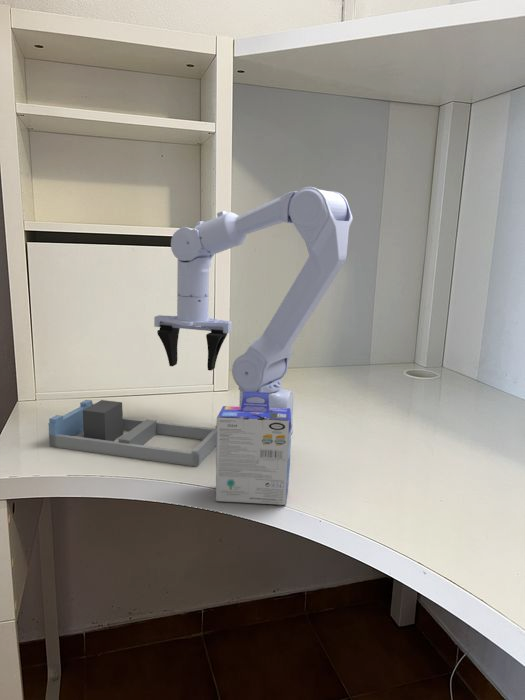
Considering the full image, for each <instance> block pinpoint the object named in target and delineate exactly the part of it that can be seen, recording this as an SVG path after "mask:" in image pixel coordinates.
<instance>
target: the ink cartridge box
mask: <svg viewBox="0 0 525 700" xmlns="http://www.w3.org/2000/svg"><path fill="white" fill-rule="evenodd" d="M251 397H259V398H262V399H264V400H265V402H264V403H249V402H247V401H246V399H247V398H251ZM220 409H221V410H220V411H219V413H218V415H216V426H217V443H216V446H215V448H216V450H215V451H216V454H215V455H216V456H215V457H216V458H215V464H216V465H215V467H216V468H215V501H216V502H223V503H224V502H227V503H245V504H246V503H247V504H263V505H280V506H281V505H282V506H284V505H285V506H286V505H287V500H288V495H289V484H290V469H291V467H290V466H291V446H292V445H291V442H292V434H291V410H290V408H271V407H269V393H265V392H248V391H243V400H242V405H241V407H239V406H234V405H233V406H230V405H229V406H228V405H224V406H222V407H221V408H220Z"/></svg>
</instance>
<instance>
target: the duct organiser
mask: <svg viewBox="0 0 525 700" xmlns="http://www.w3.org/2000/svg"><path fill="white" fill-rule="evenodd" d="M79 403H80V404H79V407H77V408H75V409H73V410H71V411H69V412H67V413H66V414H64V415H60V414H59V415H58V414H56V415H54V416H52V417H50V418H49V421H48V439H49V442H48V444H49V447H52V448H53V447H54V448H59V449H67V450H72V451H73V450H74V451H80V452H87V453H88V452H89V453H95V454H103V455H110V456H116V457H124V458H130V459H139V460H145V461H146V460H147V461H154V462H160V463H165V464H166V463H167V464H174V465H182V466H190V467H195V468H196V467H199V465H200V464H201V463H202V462H203V461H204V460H205V459H206V457H207V456H208V455H209V454H211V452H212V451H213V450H214V449H215V448H216V443H217V425H216V426H215V428H214V427H206V426H196V425H188V424H180V423H171V422H164V421H157V420H155V419H147V418H146V419H141V418H140V419H139V418H131V417H124V416H123V431H124V430H125V431H128V432H126V433H124V434H123V435H122V436H120V437H119V438H117V439H118V440H117V441H107V440H99V439H92V438H84V436H78V435H79V434H80V433H83V432H84V428H83V410H84V409H86V408H88V407H90V406H92V405H93V404H94V403H93V400H91V399H85V400H83V401H81V402H79ZM156 435H161V436H162V435H165V436H171V437H172V436H173V437H179V438H186V439H194V440H202V441H201V442H199V443H198V445H197V446H195V448H194V449H192V451H188V450H183V449H180V450H179V449H173V448H166V447H165V448H164V447H158V446H150V445H144V444H146V443H147V442H149V441H150V440H151V439H152V438H154V437H155V436H156Z"/></svg>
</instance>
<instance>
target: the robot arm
mask: <svg viewBox="0 0 525 700" xmlns="http://www.w3.org/2000/svg"><path fill="white" fill-rule="evenodd" d="M353 219H354V217H353V214H352V212H351V208H350V205H349V203H348V200H347V198H346V196H344V195H343V194H342V193H341V192H338V191H335V190H324V189H318V188H317V187H313V186H306V187H302V188H300V189H299V190H297V191H296V190H293V191H288V192H286V193H285V194H283V195H281V196H279V197H277V198H275V199H273V200H271V201H269V202H266V203H264V204H262V205H260V206H258V207H255V208H254V209H252V210H249V211H246V212H245V213H242V214H240V215H238V214H237V213H234V212H233V211H232V212H230V211H229V212H228V211H224V210H223V211H219V212H217V213H216V217H214V218H212V219H209V220H207V221H203V220H201V221H198V222H196V224H195V225H196V226H195V227H192V228H191V227H187V226H181V227H180V228H179V229H177V230H176V231H175V232H174V233H173V234H172V237H171V240H170V249H171V252H172V254H173V256H174V257H175V258H176V259H177V268H176V269H177V271H176V272H177V275H176V276H177V277H176V280H177V282H176V283H177V284H176V286H177V287H176V288H177V289H176V292H177V293H176V294H177V296H176V298H177V300H176V301H177V302H176V304H177V306H176V310H177V311H176V314H177V315H161V314H159V315H155V316H154V319H153V320H154V321H153V322H154V324H153V325H154V327H155V328H159V329H157V336H158V337H159V340H160V341H161V343H162V345H163V348H164V350H165V353H166V357H167V361H168V365H169V367H174V366H176V365H177V364H178V343H179V333H180V329H185V330H197V331H206V332H208V333H207V334H206V335H205V337H206V344H207V371H213V370H214V369H216V363H217V359H218V355H219V352H220V350H221V348H222V346H223V343H224V341H225V340H226V337H227V336H228V334H230V333H232V327H233V325H232V323H233V321H232V320H231V321H230V320H221V319H217V318H212V317H209V301H210V299H209V297H210V294H209V293H210V291H209V290H210V289H209V288H210V268H211V267H212V266H211V265H212V258H213V257H214V255H216V254H220V253H222V252H224V251H227V250H229V249H232V248H235V247H238V246H241V245H242V244H243V243H244V242H245V241H246V238H247V235H249V234H251V233H254V232H258V231H261V230H263V229H267V228H270V227H273V226H277V225H279V224H281V223H287V224H288V223H290V224H291V223H292V224H293V225H294V227H295V229H296V230H297V232H298V233H299V234H300V236H301V238H302V239H303V241H304V242H305V245H306V249H307V252H308V258H307V260H306V262H304V265H303V267H302V268H301V269H300V271H299V272H298V275H297V276H296V278H295V280H294V281H293V283H292V285H291V286H290V288H289V290H288V292H287V293H286V295H285V296H284V298H283V300H282V302H281V303H280V304H279V306H278V308H277V310H276V312H275V313H274V315H273V316H272V318H271V320H270V321H269V323H268V325H267V327H266V328H265V330H264V331H263V333H262V335H260V336H259V337H258V338H257V339H256V340H255V341H253V342H252V344H250V345H249V347H248V348H247V350H246V351H245V352H244V353H243V354H241V355H239V356H238V357H237V358H235V360H234V362H233V363H232V368H231V373H232V378H233V380H234V382H235V384H236V385H237V387H238V391H239V405H238V407H241V405H242V400H243V391H248V392H265V393H269V407H271V408H290V410H291V435H292V434H293V431H294V428H293V421H294V392H293V390H292V391H291V390H287V389H284V388H282V378H284V377H285V375H286V374H287V372H288V369H289V361H290V358H291V357H292V355H293V353H294V351H293V349H292V346H293V344H294V343H295V341H296V340H297V338H298V337H299V335H300V333H301V332H302V330H303V329H304V327H305V326H306V324H307V323H308V321H309V320H310V318H311V316H312V315H313V313H314V312H315V310H316V308H317V306H318V305H319V303H320V302H321V300H322V299H323V297H324V295H325V294H326V293H327V291H328V289H329V288H330V286H331V285H332V283H333V282H334V280H335V278H336V276H337V275H338V274H339V272H340V271H341V269H342V267H343V266H344V264H345V263H346V259H347V254H348V253H347V252H348V243H349V233H350V232H349V231H350V226H351V225H352V222H353ZM246 401H247V402H249V403H264V402H265V400H264V399H262V398H259V397H251V398H247V399H246Z"/></svg>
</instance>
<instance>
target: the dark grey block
mask: <svg viewBox="0 0 525 700" xmlns="http://www.w3.org/2000/svg"><path fill="white" fill-rule="evenodd" d="M123 415H124V414H123V402H122V401H114V400H107V399H106V400H104V399H101V400H99V401H97V402H95V403H93V405H92V406H90V407H88V408H86V409H84V410H83V428H84V431H83V437H84V438H92V439H99V440H107V441H114V442H116V440H117V439H119V438H121V437H122V436H123V435H124V430H123V417H124V416H123Z"/></svg>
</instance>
